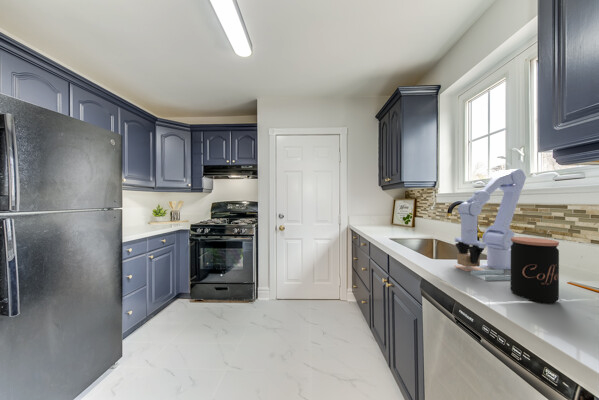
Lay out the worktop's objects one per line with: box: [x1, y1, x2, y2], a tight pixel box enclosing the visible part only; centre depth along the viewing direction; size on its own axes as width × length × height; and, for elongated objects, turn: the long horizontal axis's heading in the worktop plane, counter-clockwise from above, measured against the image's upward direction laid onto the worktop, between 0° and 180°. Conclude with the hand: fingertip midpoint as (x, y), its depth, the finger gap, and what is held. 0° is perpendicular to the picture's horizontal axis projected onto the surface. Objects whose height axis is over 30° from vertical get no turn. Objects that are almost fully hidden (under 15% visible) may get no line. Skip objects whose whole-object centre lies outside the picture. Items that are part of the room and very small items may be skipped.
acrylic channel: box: [470, 269, 511, 281], centre depth 90 cm, size 14×7×2 cm, turn 94°
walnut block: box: [456, 252, 481, 267], centre depth 101 cm, size 6×5×4 cm
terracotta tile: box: [454, 265, 484, 272], centre depth 101 cm, size 8×7×1 cm
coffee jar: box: [510, 236, 560, 305], centre depth 73 cm, size 11×11×18 cm
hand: (468, 261), depth 101 cm, fingers closed on walnut block, 5 cm apart
